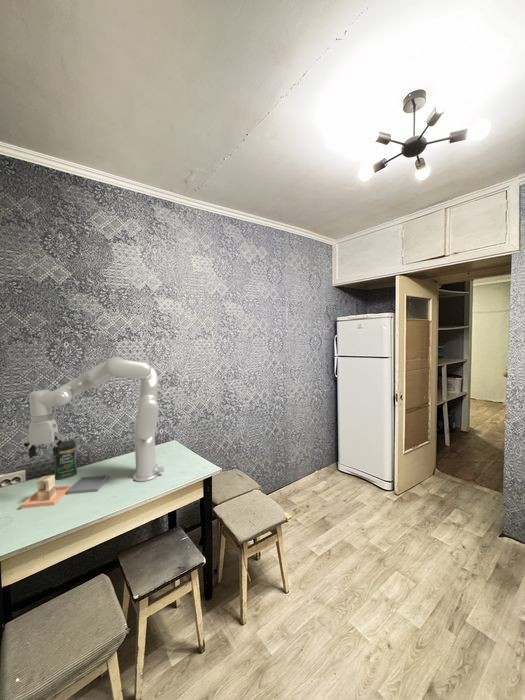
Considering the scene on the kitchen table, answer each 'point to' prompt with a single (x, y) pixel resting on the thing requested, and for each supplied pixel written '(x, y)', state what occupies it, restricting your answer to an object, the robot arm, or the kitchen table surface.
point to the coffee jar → (66, 461)
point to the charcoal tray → (88, 484)
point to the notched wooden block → (46, 488)
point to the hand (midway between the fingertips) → (44, 455)
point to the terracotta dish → (35, 502)
